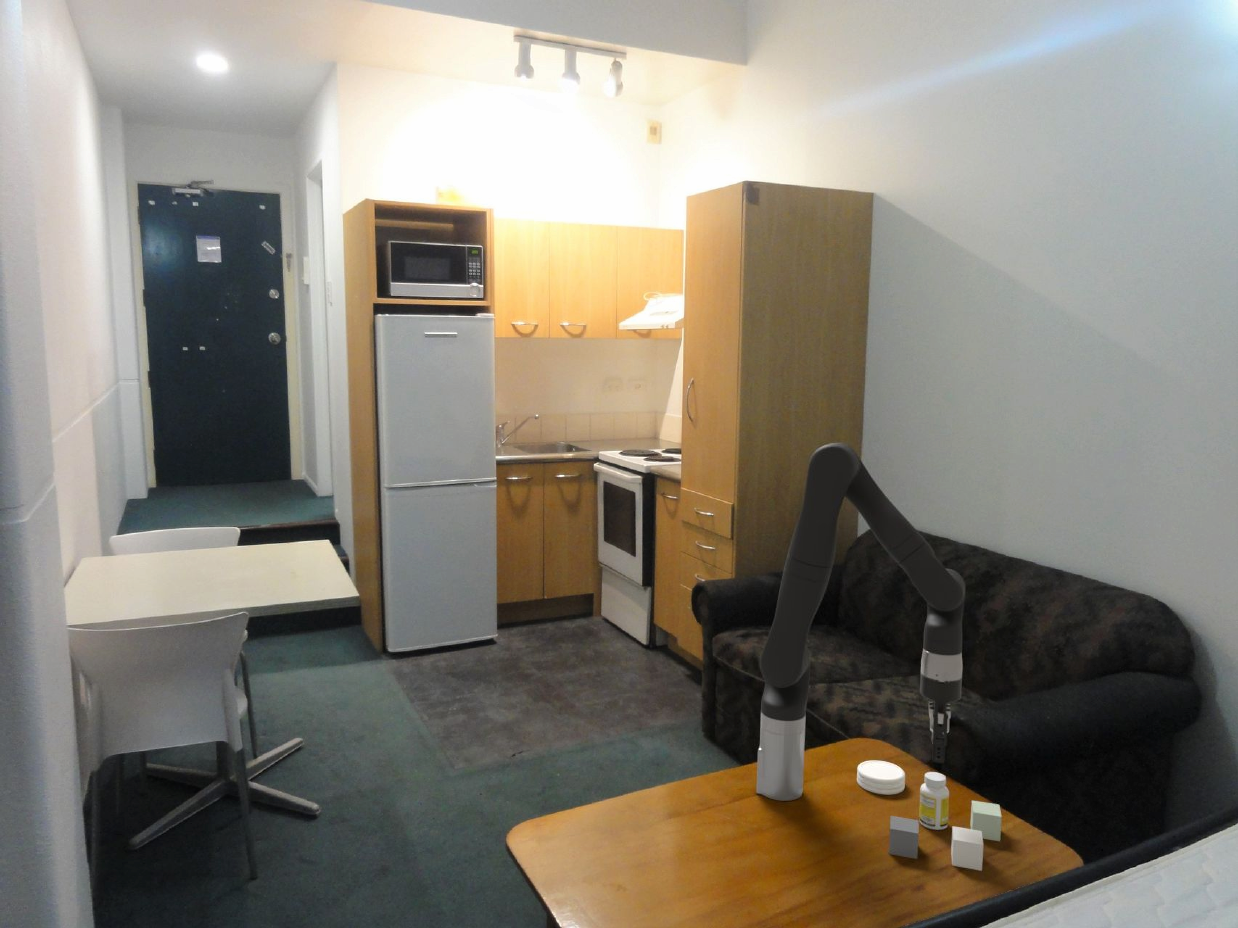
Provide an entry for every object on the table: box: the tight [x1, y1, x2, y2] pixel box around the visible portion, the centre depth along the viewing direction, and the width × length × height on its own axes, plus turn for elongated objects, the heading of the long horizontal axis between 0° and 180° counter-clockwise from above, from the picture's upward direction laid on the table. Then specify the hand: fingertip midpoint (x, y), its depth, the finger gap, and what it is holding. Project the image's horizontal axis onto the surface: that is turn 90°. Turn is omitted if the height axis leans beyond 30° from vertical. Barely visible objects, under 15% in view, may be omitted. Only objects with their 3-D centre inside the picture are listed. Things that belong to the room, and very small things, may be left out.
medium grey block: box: [888, 815, 920, 860], centre depth 163 cm, size 5×5×5 cm
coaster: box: [856, 759, 906, 796], centre depth 189 cm, size 10×10×4 cm
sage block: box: [969, 800, 1003, 842], centre depth 170 cm, size 5×5×5 cm
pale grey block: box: [950, 825, 984, 871], centre depth 160 cm, size 5×5×5 cm
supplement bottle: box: [918, 771, 950, 831], centre depth 172 cm, size 5×5×10 cm
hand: (937, 752), depth 171 cm, fingers open, 8 cm apart
